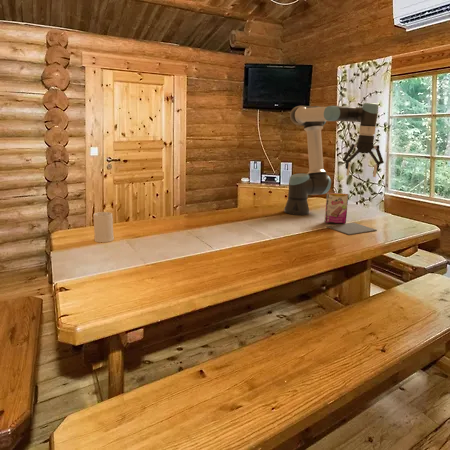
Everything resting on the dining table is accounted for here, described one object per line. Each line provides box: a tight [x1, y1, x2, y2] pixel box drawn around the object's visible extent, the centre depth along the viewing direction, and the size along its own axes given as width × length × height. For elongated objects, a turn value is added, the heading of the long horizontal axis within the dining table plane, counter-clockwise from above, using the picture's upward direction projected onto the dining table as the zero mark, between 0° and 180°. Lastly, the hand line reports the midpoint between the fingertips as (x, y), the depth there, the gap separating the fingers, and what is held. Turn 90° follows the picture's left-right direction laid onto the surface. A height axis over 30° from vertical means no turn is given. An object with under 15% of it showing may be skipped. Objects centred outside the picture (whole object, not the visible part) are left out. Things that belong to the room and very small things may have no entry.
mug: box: [93, 211, 115, 244], centre depth 178 cm, size 12×8×12 cm
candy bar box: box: [324, 192, 349, 224], centre depth 218 cm, size 11×5×16 cm, turn 84°
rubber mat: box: [326, 222, 378, 236], centre depth 208 cm, size 16×20×1 cm
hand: (360, 176), depth 208 cm, fingers open, 13 cm apart
